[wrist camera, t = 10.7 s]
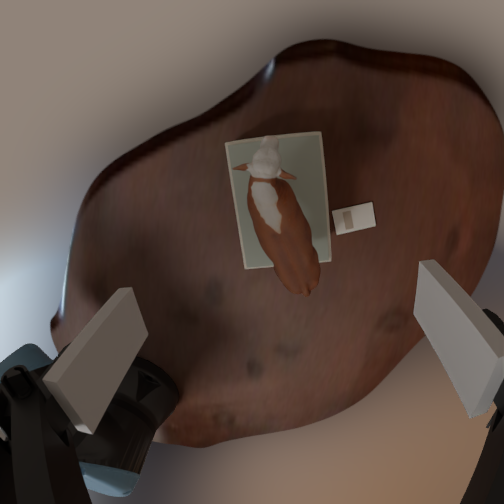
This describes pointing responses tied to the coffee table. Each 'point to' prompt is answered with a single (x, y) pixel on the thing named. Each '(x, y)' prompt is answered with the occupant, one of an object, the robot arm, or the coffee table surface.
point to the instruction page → (354, 218)
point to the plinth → (304, 187)
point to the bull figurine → (280, 220)
